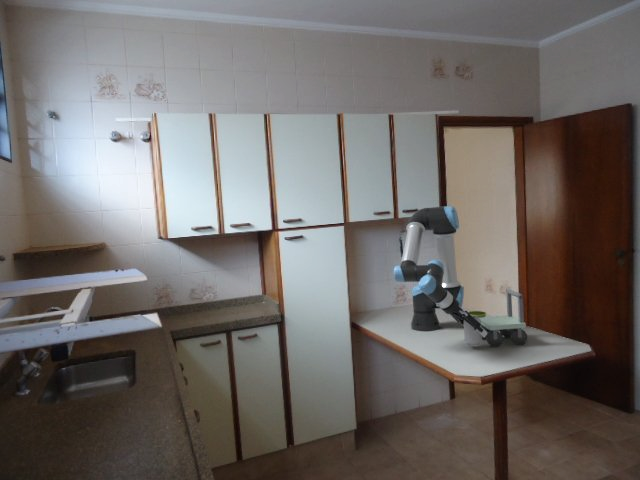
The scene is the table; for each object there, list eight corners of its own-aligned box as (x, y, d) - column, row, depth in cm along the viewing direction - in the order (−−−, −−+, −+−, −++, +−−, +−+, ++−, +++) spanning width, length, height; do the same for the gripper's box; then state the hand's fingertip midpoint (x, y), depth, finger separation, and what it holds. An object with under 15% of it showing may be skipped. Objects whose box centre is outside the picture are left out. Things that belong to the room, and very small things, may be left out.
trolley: (476, 338, 220) (473, 291, 219) (513, 335, 221) (511, 288, 219) (488, 348, 204) (486, 297, 203) (528, 345, 205) (526, 294, 203)
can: (483, 341, 208) (481, 315, 207) (481, 346, 201) (480, 319, 200) (465, 340, 211) (464, 314, 210) (463, 345, 204) (462, 318, 204)
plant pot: (484, 326, 240) (483, 310, 239) (489, 331, 230) (488, 314, 230) (466, 327, 241) (465, 311, 240) (470, 332, 231) (469, 315, 231)
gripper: (429, 305, 210) (461, 334, 216) (456, 313, 191) (490, 345, 197) (438, 292, 211) (470, 322, 217) (466, 299, 192) (499, 331, 198)
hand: (479, 333), depth 207 cm, fingers closed on can, 7 cm apart
